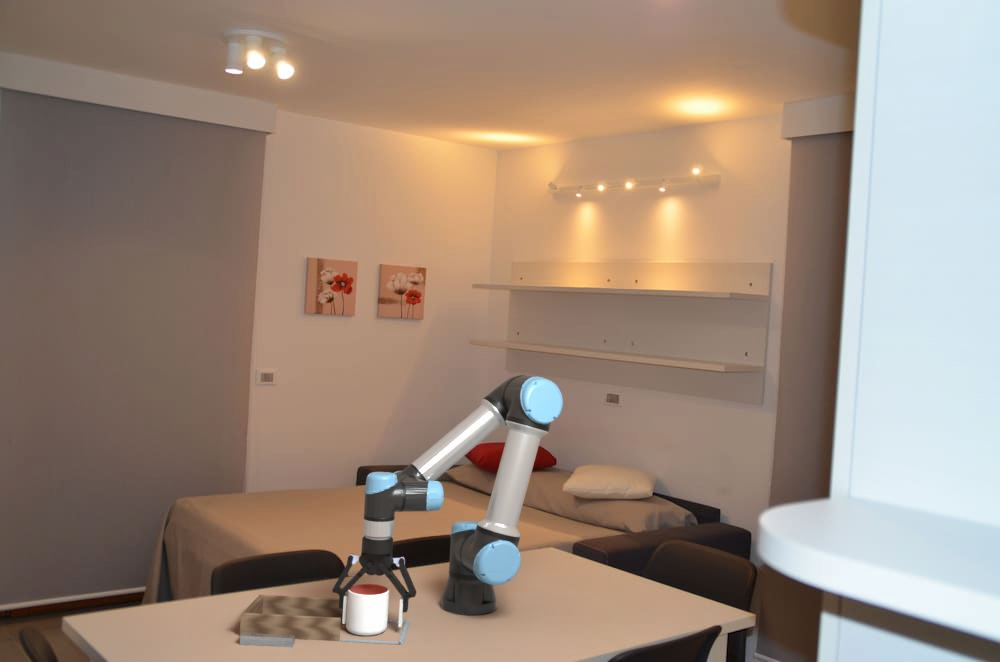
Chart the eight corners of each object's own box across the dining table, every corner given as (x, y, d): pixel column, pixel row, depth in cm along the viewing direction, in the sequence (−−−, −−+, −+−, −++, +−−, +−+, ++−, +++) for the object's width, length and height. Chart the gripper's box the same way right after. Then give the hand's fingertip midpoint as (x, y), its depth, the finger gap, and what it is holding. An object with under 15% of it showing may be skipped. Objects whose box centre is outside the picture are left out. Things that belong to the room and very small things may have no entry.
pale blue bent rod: (409, 621, 220) (409, 620, 220) (402, 644, 203) (402, 643, 203) (352, 618, 220) (352, 617, 220) (340, 641, 203) (340, 640, 203)
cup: (379, 639, 206) (381, 597, 206) (339, 634, 207) (341, 592, 208) (392, 626, 215) (394, 586, 216) (353, 622, 217) (356, 582, 217)
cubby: (350, 619, 219) (351, 599, 220) (338, 640, 203) (339, 619, 203) (258, 614, 219) (259, 594, 219) (239, 635, 203) (241, 614, 203)
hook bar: (296, 641, 201) (296, 632, 201) (292, 647, 197) (292, 638, 197) (244, 638, 201) (245, 629, 201) (239, 644, 197) (240, 635, 197)
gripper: (430, 536, 216) (424, 621, 215) (329, 530, 216) (324, 615, 215) (427, 542, 208) (422, 631, 208) (323, 536, 208) (318, 625, 208)
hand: (372, 623), depth 211 cm, fingers open, 13 cm apart
